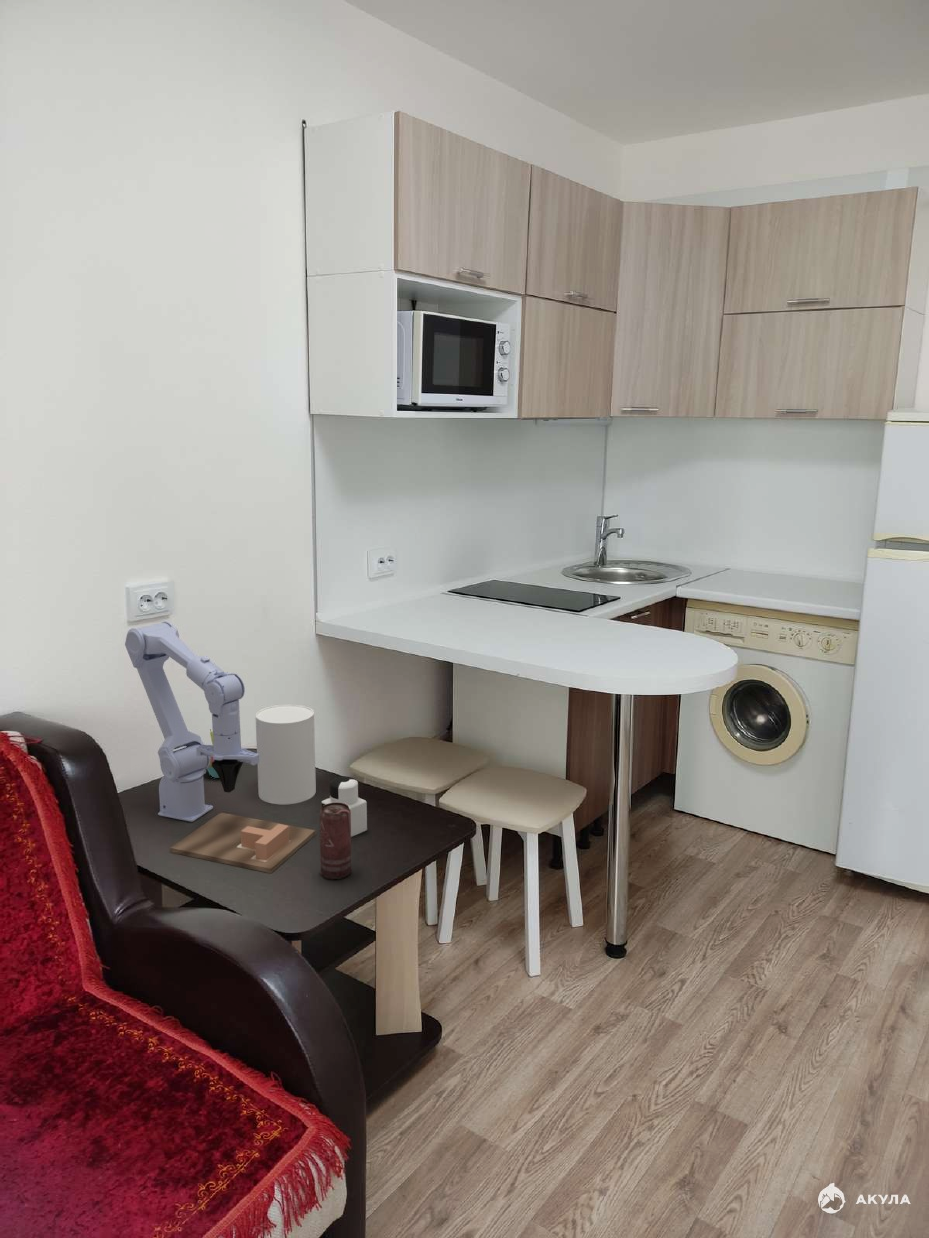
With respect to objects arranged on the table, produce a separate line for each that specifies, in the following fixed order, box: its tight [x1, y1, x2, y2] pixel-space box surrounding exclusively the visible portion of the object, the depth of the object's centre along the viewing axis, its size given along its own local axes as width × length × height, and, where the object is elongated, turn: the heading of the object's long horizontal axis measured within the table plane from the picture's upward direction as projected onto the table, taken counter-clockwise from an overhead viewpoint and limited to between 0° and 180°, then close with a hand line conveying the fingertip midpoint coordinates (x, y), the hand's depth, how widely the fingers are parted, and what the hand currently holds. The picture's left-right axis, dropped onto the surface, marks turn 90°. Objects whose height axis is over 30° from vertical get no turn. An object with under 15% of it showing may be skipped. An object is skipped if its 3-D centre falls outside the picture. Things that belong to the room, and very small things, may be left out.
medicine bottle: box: [321, 775, 368, 838], centre depth 197 cm, size 7×7×12 cm
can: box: [319, 803, 352, 880], centre depth 179 cm, size 6×6×14 cm
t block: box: [241, 823, 289, 860], centre depth 188 cm, size 8×9×4 cm
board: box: [169, 812, 316, 874], centre depth 192 cm, size 24×18×1 cm
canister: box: [255, 703, 317, 805], centre depth 215 cm, size 14×14×20 cm
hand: (229, 790), depth 196 cm, fingers closed
